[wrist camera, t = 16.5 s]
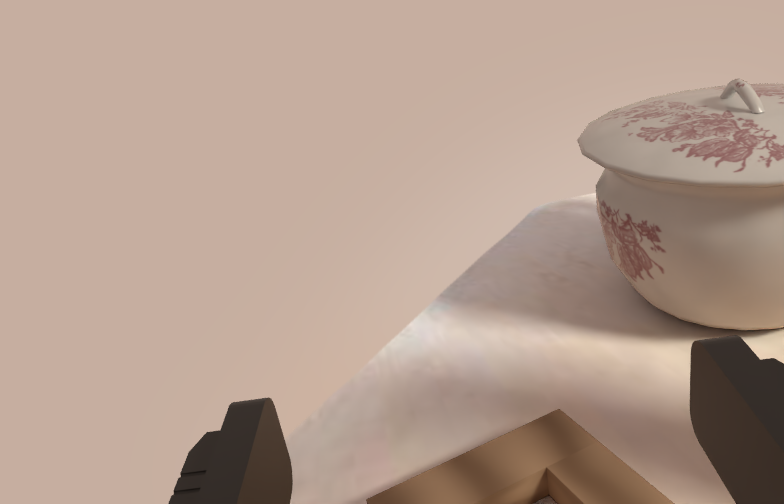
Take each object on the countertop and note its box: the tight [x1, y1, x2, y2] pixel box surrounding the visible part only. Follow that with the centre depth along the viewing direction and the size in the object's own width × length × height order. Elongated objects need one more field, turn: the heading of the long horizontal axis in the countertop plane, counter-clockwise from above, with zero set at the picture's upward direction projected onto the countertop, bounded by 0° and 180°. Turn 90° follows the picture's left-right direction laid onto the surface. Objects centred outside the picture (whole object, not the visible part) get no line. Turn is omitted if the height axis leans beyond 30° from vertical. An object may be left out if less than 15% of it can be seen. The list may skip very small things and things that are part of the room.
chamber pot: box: [578, 79, 784, 330], centre depth 62 cm, size 28×28×21 cm
